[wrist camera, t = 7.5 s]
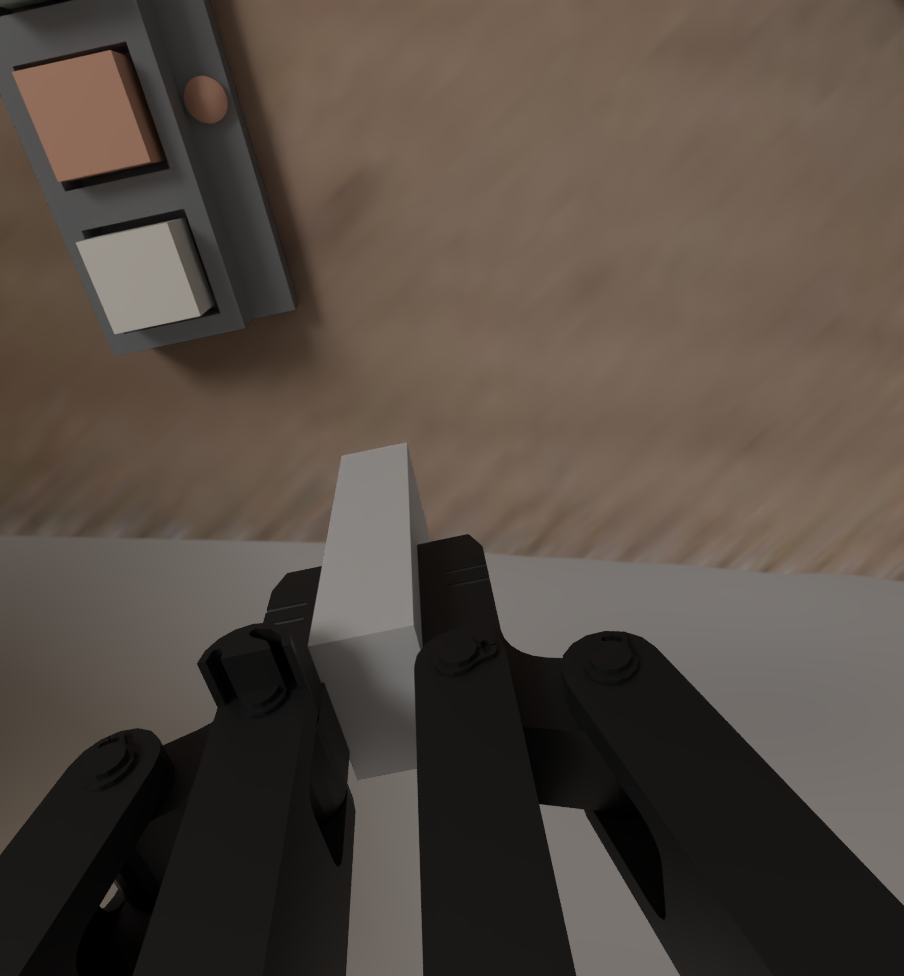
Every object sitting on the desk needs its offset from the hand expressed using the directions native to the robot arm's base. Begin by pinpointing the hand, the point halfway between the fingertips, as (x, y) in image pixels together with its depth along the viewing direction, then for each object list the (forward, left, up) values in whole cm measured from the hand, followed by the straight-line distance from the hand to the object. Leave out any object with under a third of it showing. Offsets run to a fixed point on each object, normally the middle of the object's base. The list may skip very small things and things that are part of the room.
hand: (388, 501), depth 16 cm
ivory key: (+12, -4, -24) cm, 27 cm away
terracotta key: (+12, -11, -24) cm, 29 cm away
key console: (+10, -11, -26) cm, 30 cm away
